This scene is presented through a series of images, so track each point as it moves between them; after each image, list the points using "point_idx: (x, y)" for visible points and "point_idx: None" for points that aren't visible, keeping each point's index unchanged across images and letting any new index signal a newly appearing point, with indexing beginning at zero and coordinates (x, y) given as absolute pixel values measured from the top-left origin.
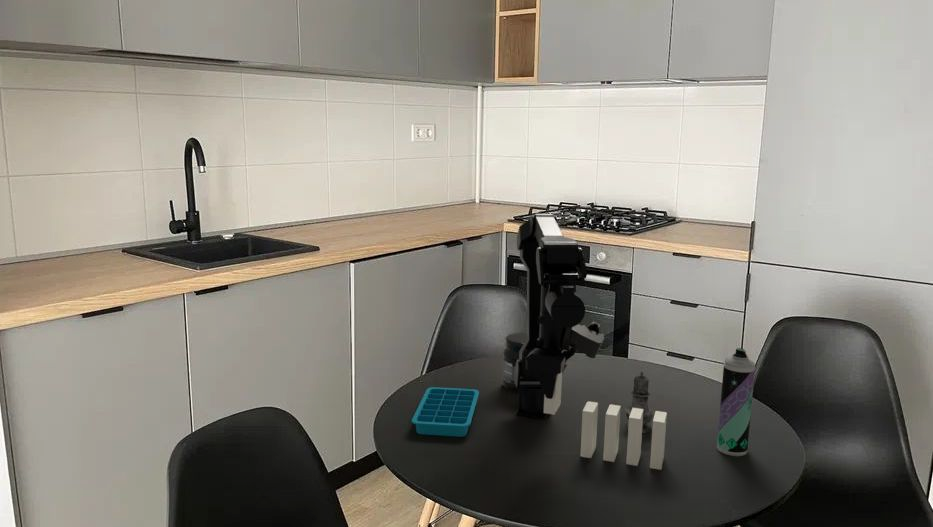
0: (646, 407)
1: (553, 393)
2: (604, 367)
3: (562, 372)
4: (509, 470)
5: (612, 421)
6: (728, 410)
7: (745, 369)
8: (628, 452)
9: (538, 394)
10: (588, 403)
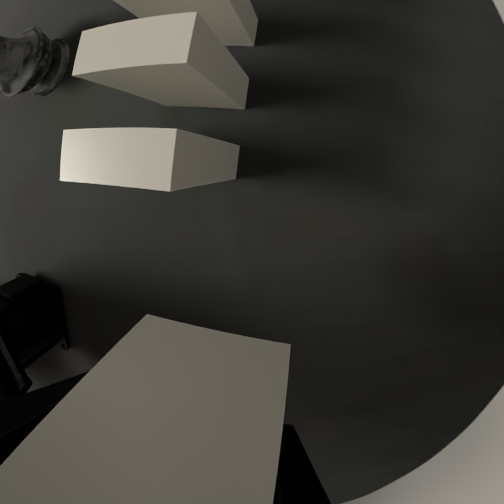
0: (16, 38)
1: (290, 448)
2: None
3: (26, 424)
4: (362, 363)
5: (204, 41)
6: None
7: None
8: (247, 27)
9: (21, 327)
10: (78, 172)
